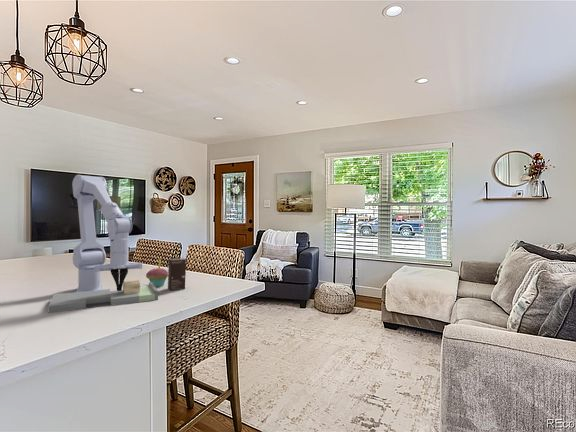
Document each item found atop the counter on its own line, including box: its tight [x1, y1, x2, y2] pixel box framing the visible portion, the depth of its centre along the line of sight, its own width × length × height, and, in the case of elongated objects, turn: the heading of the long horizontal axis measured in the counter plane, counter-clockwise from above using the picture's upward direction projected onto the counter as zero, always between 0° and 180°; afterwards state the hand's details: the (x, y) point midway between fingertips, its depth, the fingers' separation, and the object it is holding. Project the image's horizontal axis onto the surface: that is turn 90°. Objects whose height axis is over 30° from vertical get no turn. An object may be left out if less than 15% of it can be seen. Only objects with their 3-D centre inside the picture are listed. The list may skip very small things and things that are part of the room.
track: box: [47, 281, 159, 313], centre depth 111 cm, size 15×31×3 cm, turn 121°
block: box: [122, 279, 141, 294], centre depth 115 cm, size 5×5×4 cm
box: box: [167, 257, 187, 291], centre depth 128 cm, size 6×4×12 cm
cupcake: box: [145, 257, 168, 288], centre depth 133 cm, size 9×8×12 cm
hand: (119, 290), depth 113 cm, fingers closed
